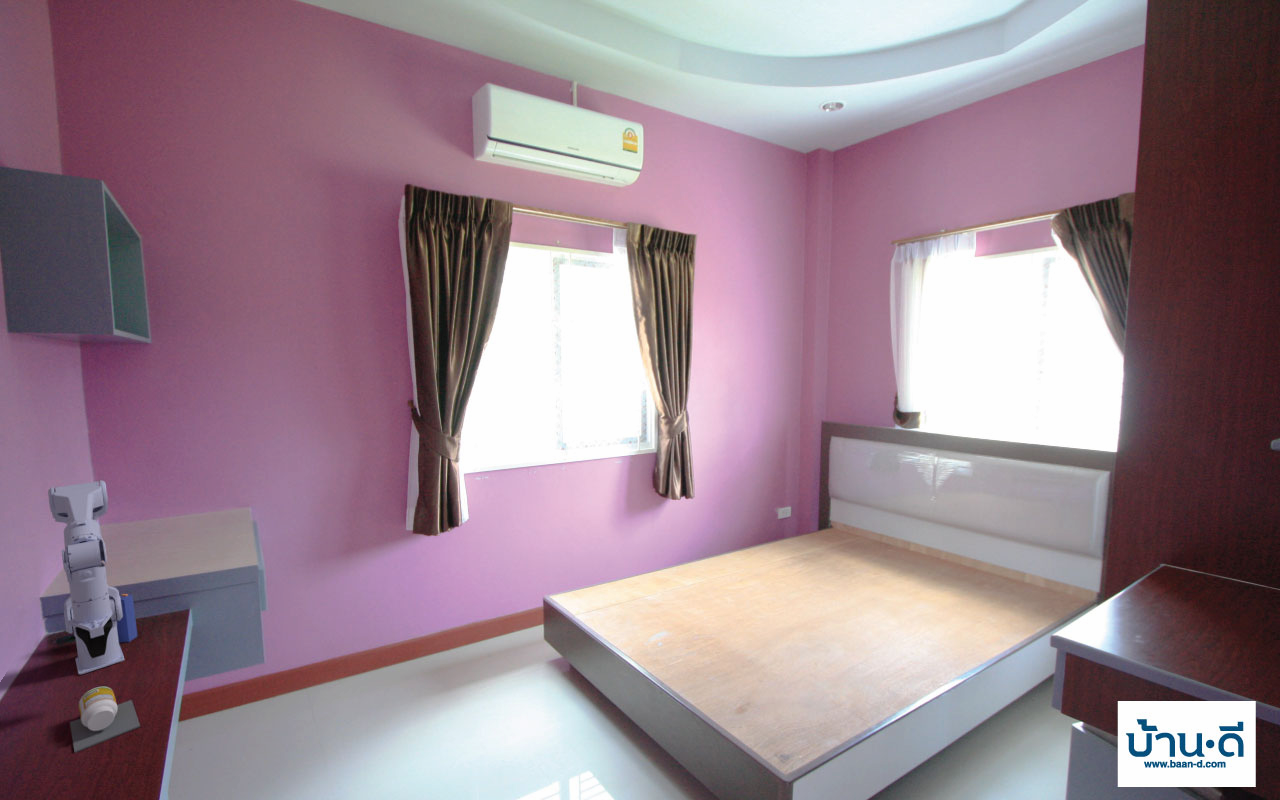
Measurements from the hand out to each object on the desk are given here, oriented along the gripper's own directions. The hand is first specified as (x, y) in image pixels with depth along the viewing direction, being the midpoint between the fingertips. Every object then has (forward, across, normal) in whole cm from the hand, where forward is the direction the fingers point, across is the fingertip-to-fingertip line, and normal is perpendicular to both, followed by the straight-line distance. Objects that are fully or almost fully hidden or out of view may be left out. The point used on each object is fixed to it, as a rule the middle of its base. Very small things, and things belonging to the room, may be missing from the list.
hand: (98, 655), depth 122 cm
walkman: (+11, -29, +5) cm, 32 cm away
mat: (+10, +12, -1) cm, 15 cm away
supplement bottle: (+7, +5, -1) cm, 9 cm away
